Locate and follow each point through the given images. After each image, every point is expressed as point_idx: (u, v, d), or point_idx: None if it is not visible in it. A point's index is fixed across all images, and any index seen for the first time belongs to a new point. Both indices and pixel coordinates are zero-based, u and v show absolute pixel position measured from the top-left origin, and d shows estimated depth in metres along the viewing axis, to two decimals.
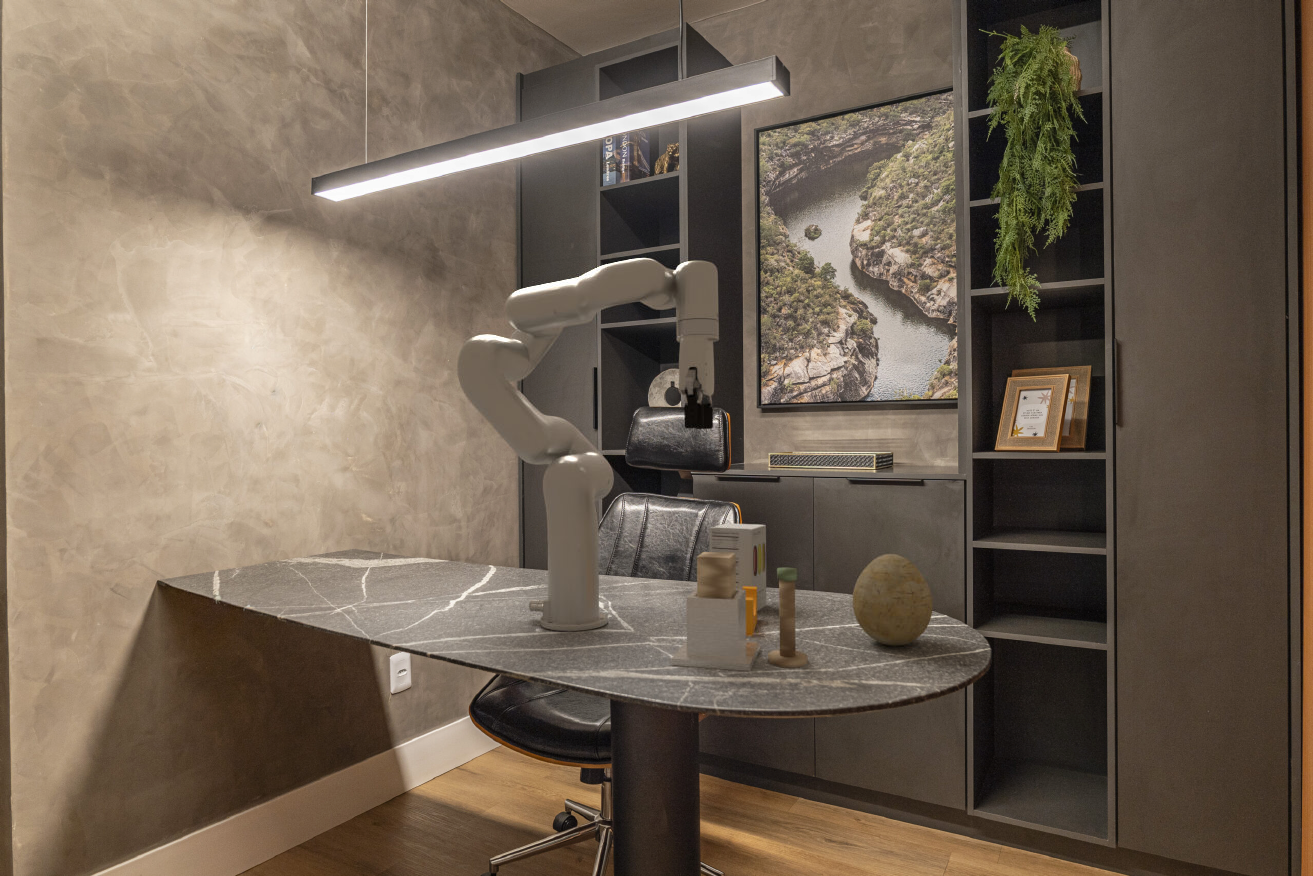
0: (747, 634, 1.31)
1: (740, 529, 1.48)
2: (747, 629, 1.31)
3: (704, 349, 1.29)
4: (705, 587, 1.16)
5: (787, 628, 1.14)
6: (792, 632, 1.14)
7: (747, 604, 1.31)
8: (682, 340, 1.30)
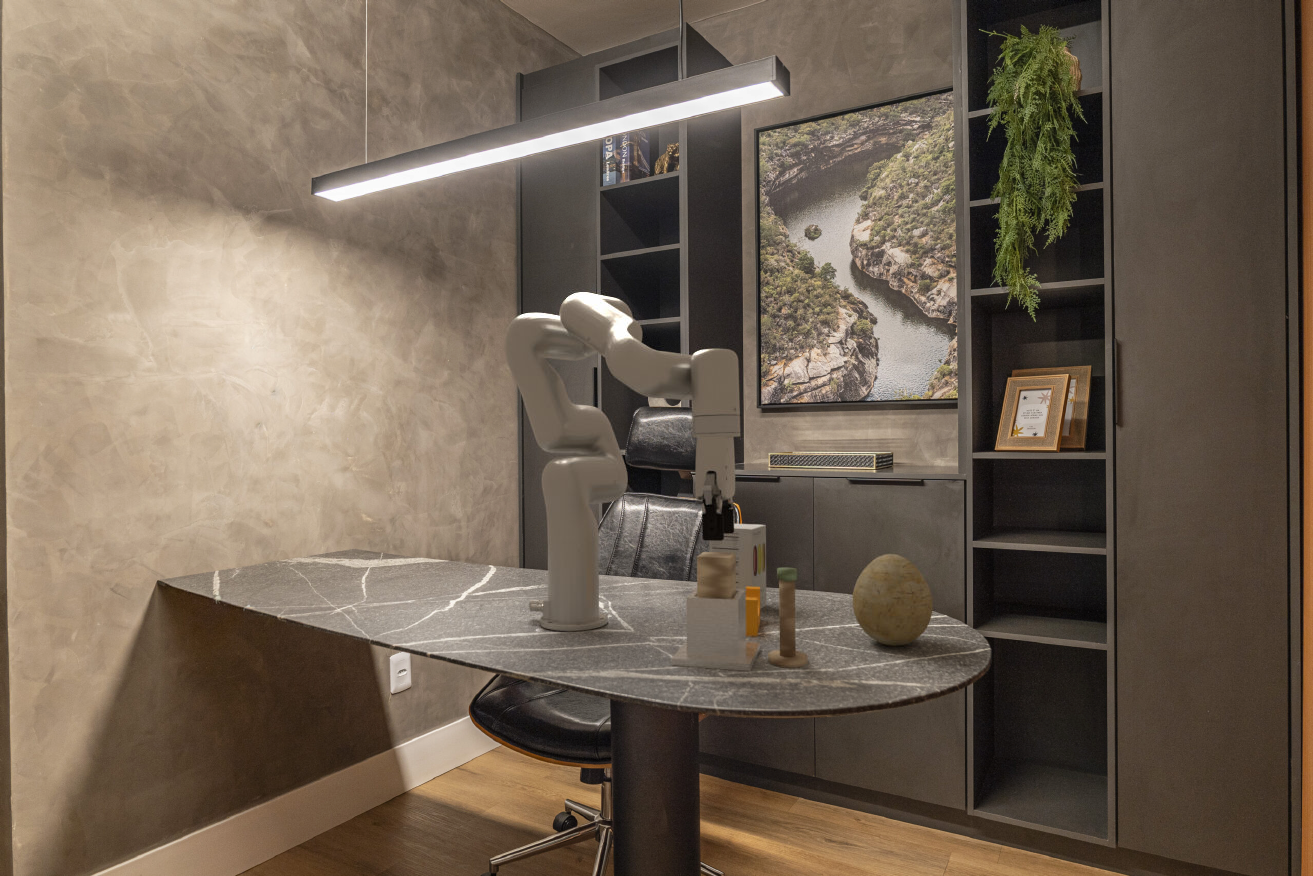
0: (751, 634, 1.31)
1: (740, 529, 1.48)
2: (751, 629, 1.31)
3: (724, 450, 1.14)
4: (705, 587, 1.16)
5: (787, 628, 1.14)
6: (792, 632, 1.14)
7: (751, 604, 1.31)
8: (699, 440, 1.15)
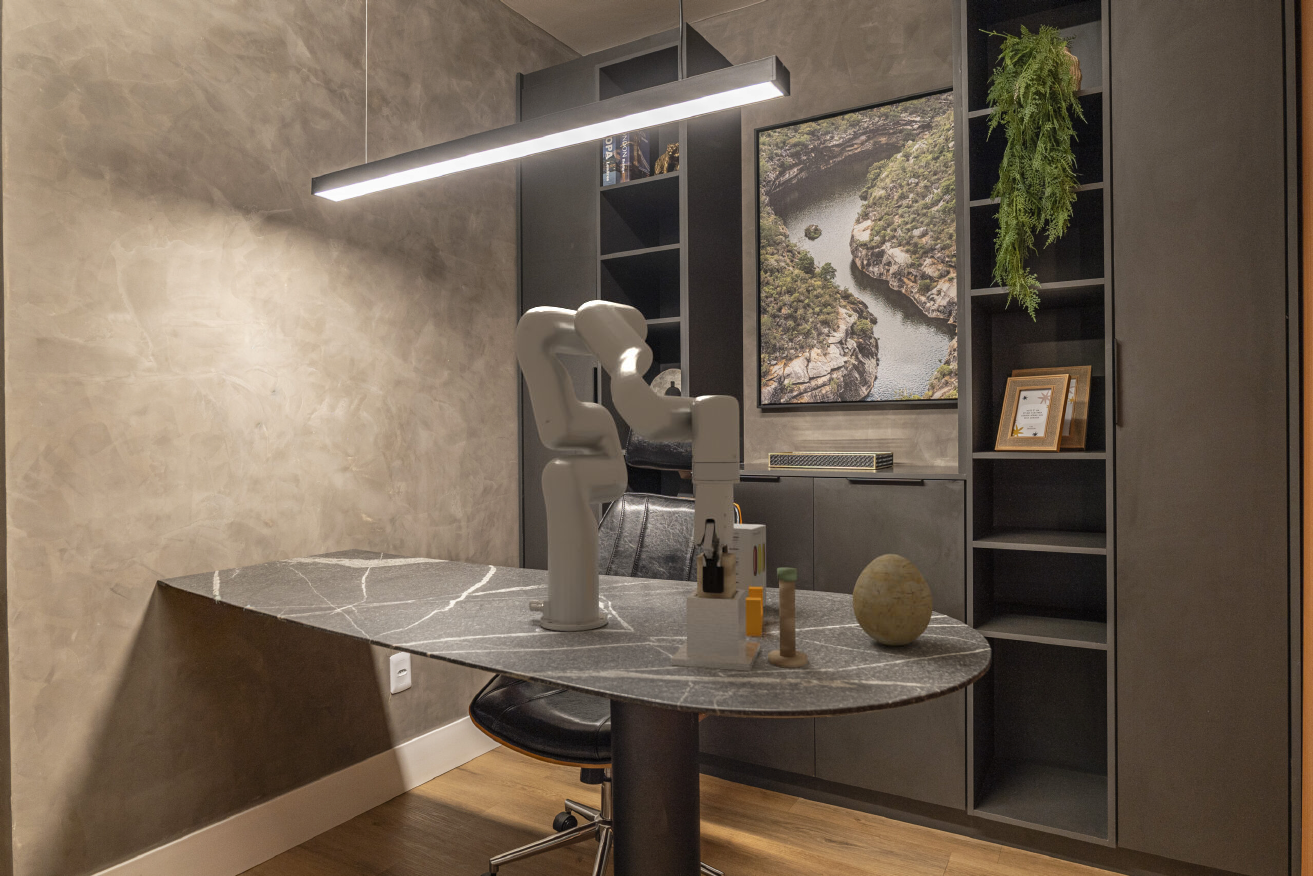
0: (755, 634, 1.31)
1: (740, 529, 1.48)
2: (755, 629, 1.31)
3: (723, 498, 1.14)
4: None
5: (787, 628, 1.14)
6: (792, 632, 1.14)
7: (755, 604, 1.31)
8: (698, 487, 1.15)
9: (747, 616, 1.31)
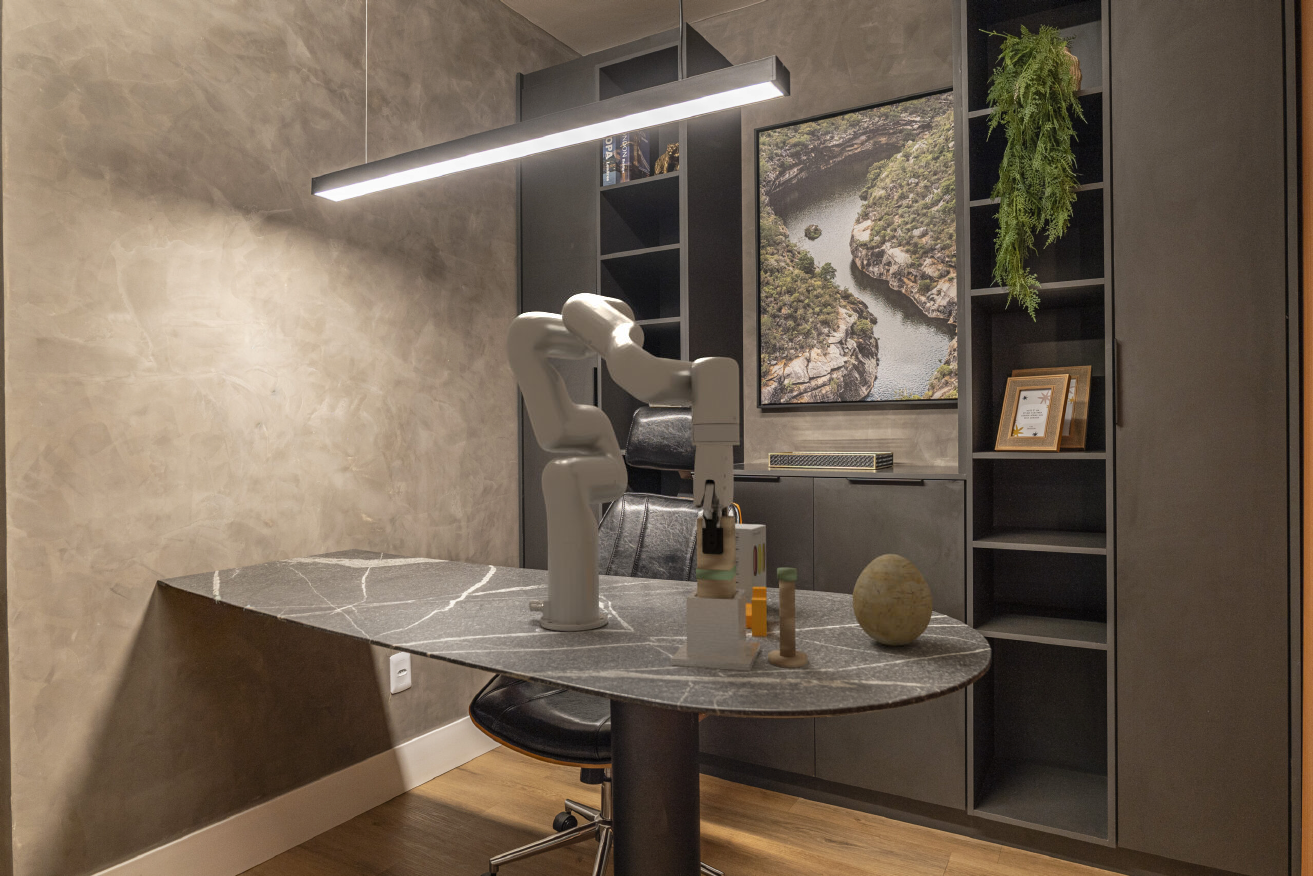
0: (761, 634, 1.31)
1: (740, 529, 1.48)
2: (761, 629, 1.31)
3: (723, 459, 1.14)
4: None
5: (787, 628, 1.14)
6: (792, 632, 1.14)
7: (761, 604, 1.31)
8: (698, 448, 1.15)
9: (753, 616, 1.31)
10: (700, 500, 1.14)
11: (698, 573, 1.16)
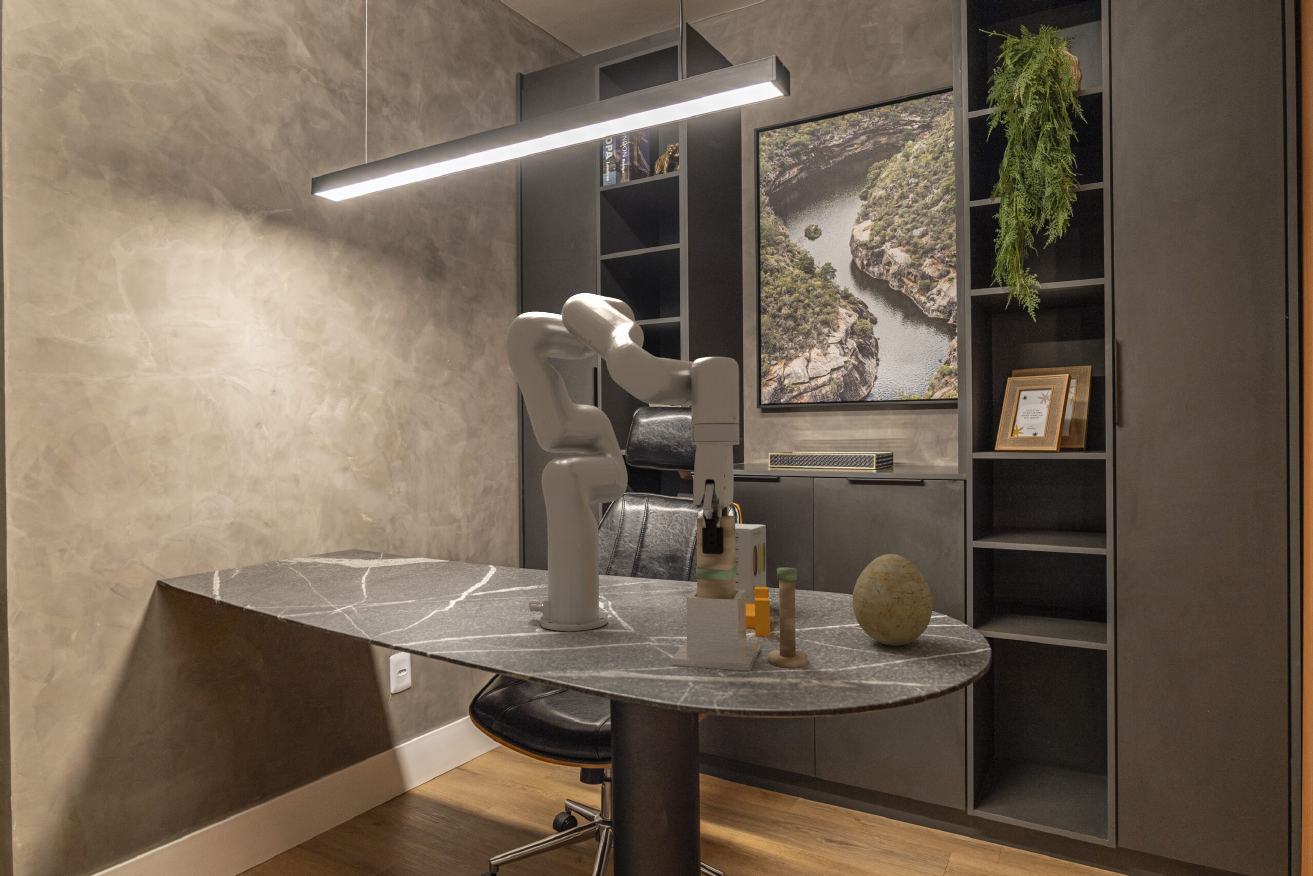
0: (765, 635, 1.31)
1: (740, 529, 1.48)
2: (764, 630, 1.31)
3: (723, 459, 1.14)
4: None
5: (787, 628, 1.14)
6: (792, 632, 1.14)
7: (764, 605, 1.31)
8: (698, 448, 1.15)
9: (756, 617, 1.31)
10: (700, 500, 1.14)
11: (698, 573, 1.16)
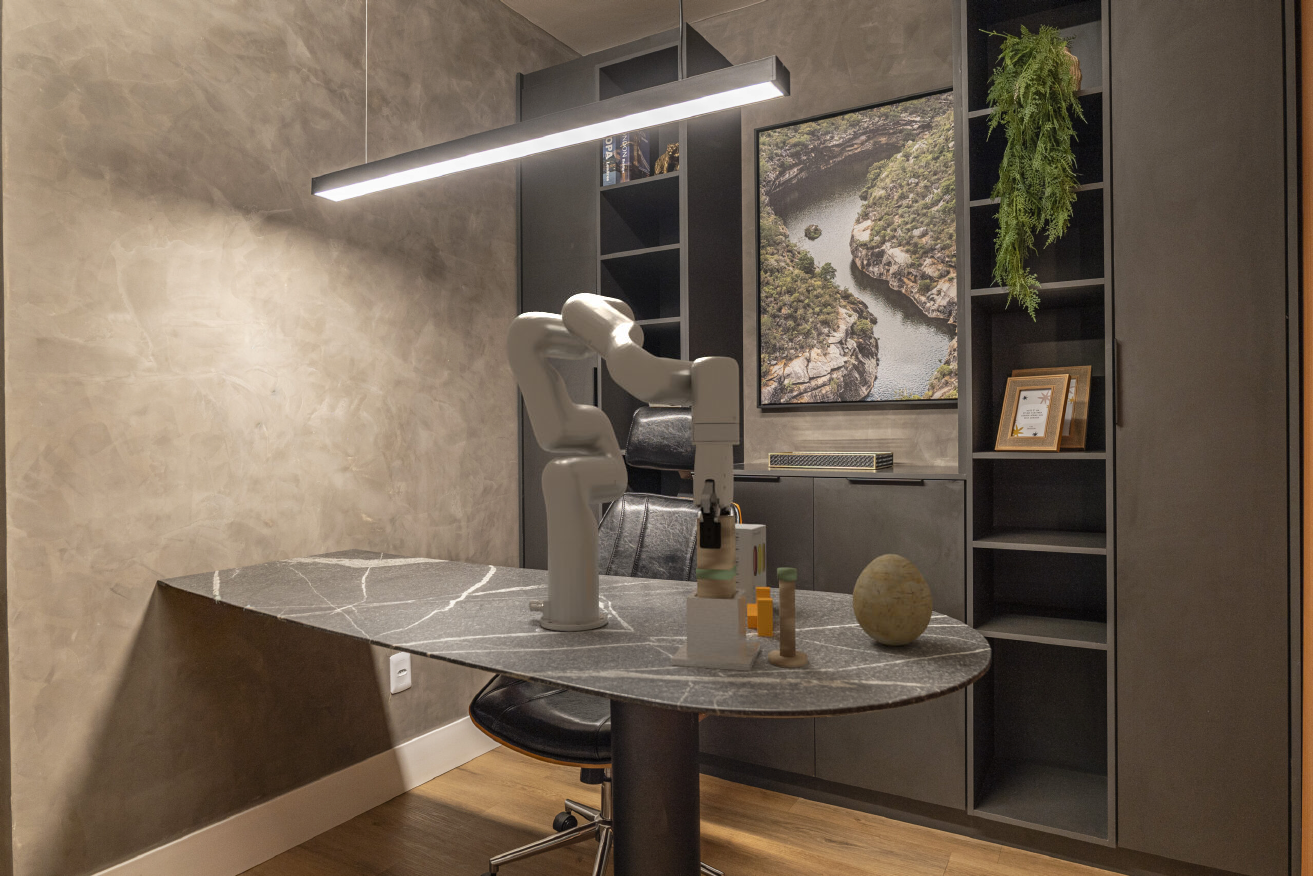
0: (767, 635, 1.30)
1: (740, 529, 1.48)
2: (767, 630, 1.30)
3: (723, 459, 1.14)
4: None
5: (787, 628, 1.14)
6: (792, 632, 1.14)
7: (767, 604, 1.31)
8: (698, 447, 1.15)
9: (759, 616, 1.31)
10: (700, 500, 1.14)
11: (698, 573, 1.16)
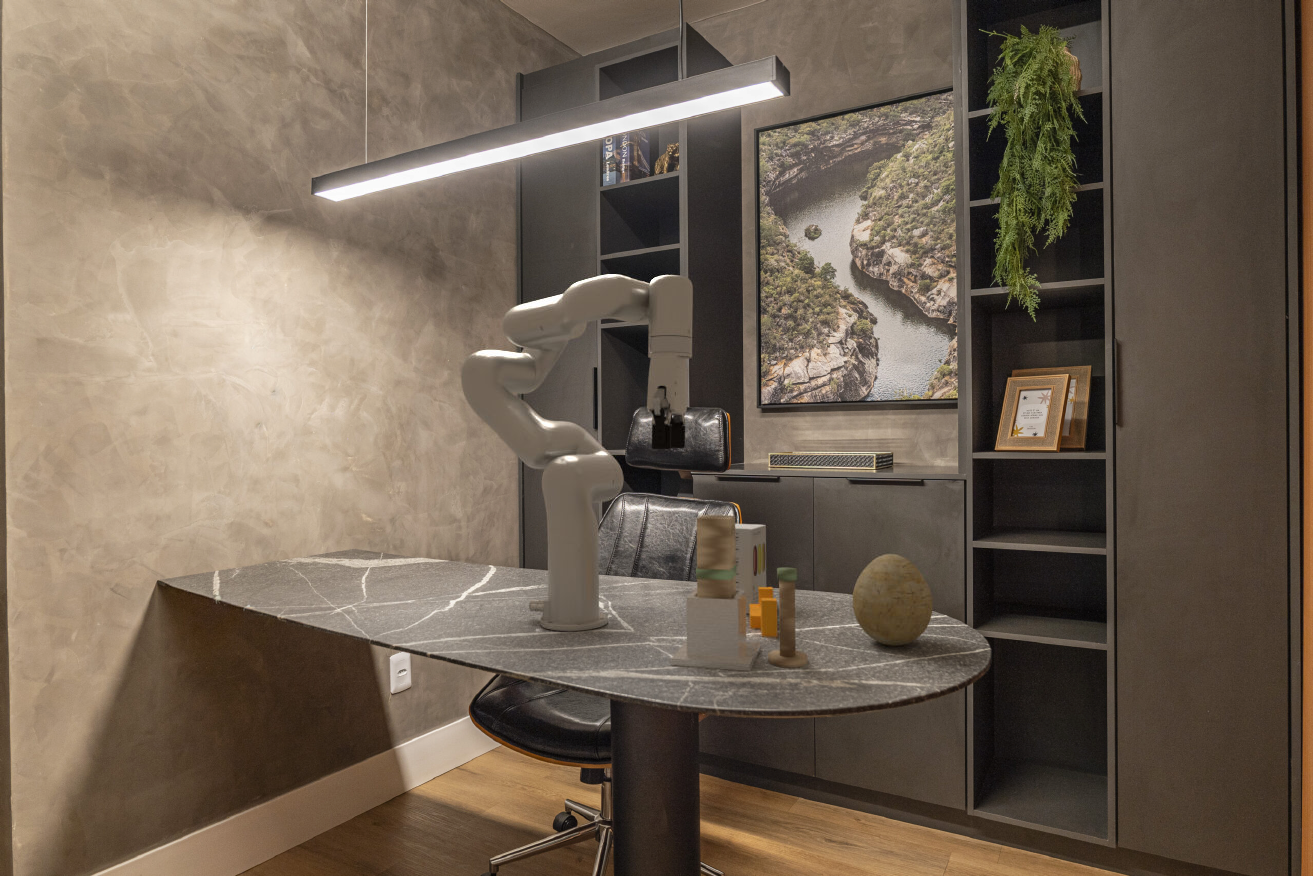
0: (772, 635, 1.30)
1: (740, 529, 1.48)
2: (772, 630, 1.30)
3: (674, 368, 1.25)
4: (705, 548, 1.16)
5: (787, 628, 1.14)
6: (792, 632, 1.14)
7: (771, 605, 1.30)
8: (652, 357, 1.26)
9: (763, 617, 1.31)
10: (653, 404, 1.25)
11: (698, 573, 1.16)
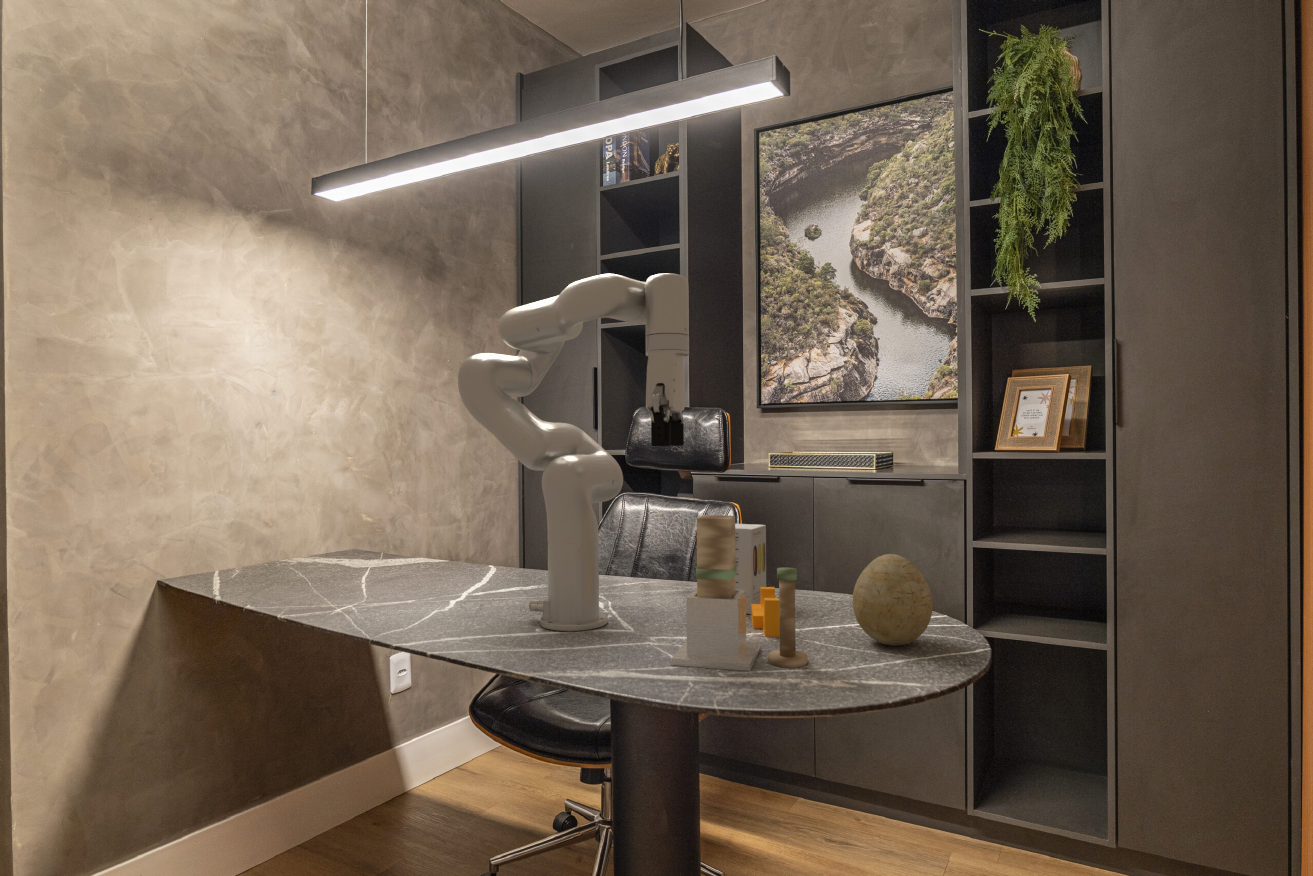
0: (774, 635, 1.30)
1: (740, 529, 1.48)
2: (774, 630, 1.30)
3: (672, 365, 1.25)
4: (705, 548, 1.16)
5: (787, 628, 1.14)
6: (792, 632, 1.14)
7: (774, 604, 1.30)
8: (650, 355, 1.26)
9: (766, 617, 1.30)
10: (651, 402, 1.25)
11: (698, 573, 1.16)
